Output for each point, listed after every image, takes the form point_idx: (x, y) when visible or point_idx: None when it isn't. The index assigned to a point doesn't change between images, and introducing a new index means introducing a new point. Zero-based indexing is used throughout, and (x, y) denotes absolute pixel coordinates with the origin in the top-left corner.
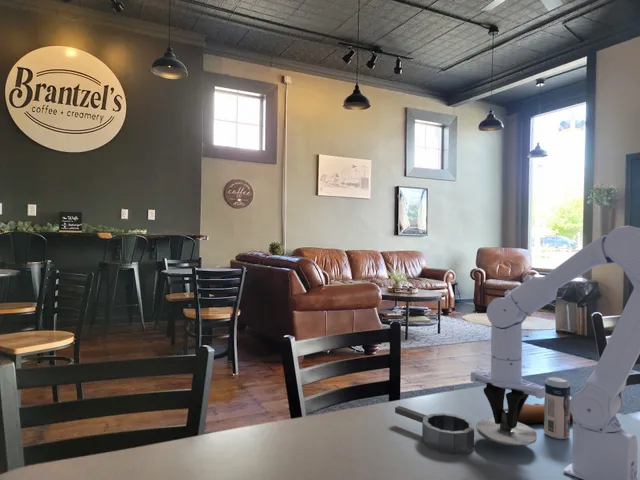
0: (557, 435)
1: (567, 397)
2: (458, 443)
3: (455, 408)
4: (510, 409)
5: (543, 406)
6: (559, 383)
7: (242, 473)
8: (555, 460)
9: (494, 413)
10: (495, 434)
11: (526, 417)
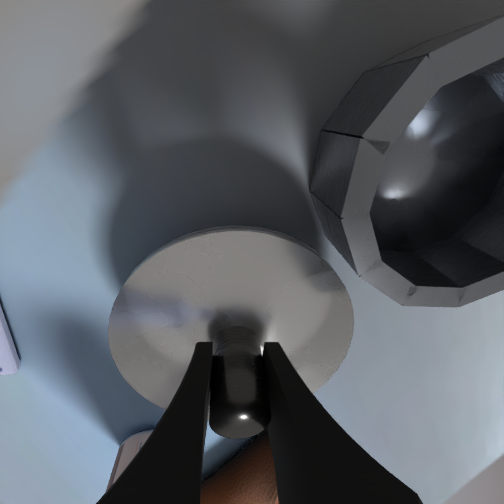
0: (136, 440)
1: None
2: (371, 88)
3: (443, 413)
4: (185, 424)
5: None
6: None
7: None
8: (64, 315)
9: (290, 376)
10: (246, 268)
11: (243, 470)
